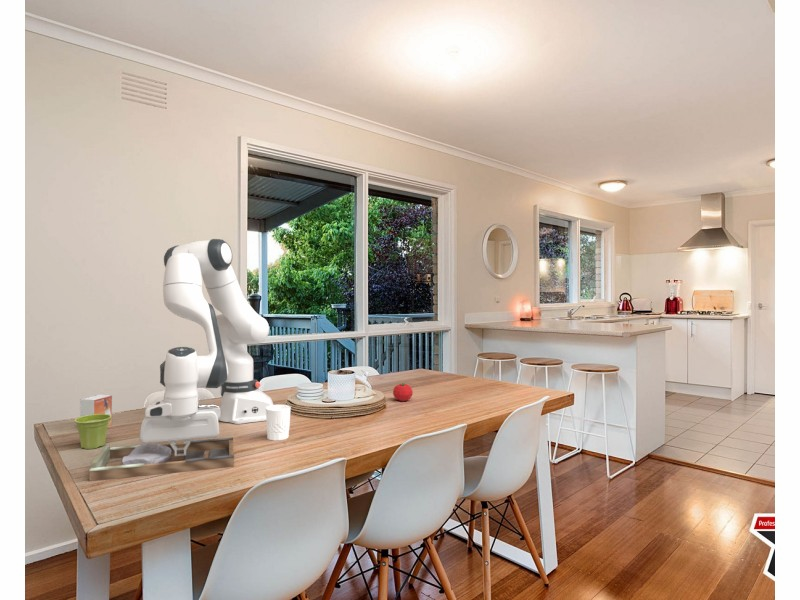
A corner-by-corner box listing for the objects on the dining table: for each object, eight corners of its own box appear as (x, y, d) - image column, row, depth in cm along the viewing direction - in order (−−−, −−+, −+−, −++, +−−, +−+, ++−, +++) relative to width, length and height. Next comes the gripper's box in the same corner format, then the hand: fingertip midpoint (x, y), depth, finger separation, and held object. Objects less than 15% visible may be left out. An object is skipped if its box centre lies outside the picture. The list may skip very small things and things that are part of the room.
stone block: (172, 462, 139) (137, 455, 138) (176, 446, 139) (140, 439, 138) (156, 479, 127) (117, 473, 126) (159, 462, 127) (120, 455, 126)
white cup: (294, 435, 160) (295, 405, 160) (281, 442, 152) (282, 411, 152) (274, 433, 162) (274, 403, 162) (260, 439, 155) (260, 408, 155)
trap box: (232, 446, 148) (233, 433, 148) (233, 466, 131) (233, 452, 131) (106, 457, 136) (106, 443, 136) (89, 481, 120) (89, 465, 119)
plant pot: (71, 453, 139) (71, 423, 139) (78, 443, 148) (78, 415, 148) (108, 449, 143) (108, 420, 143) (113, 440, 152) (113, 412, 151)
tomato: (391, 398, 218) (392, 380, 217) (411, 398, 219) (411, 380, 218) (393, 403, 209) (394, 384, 209) (413, 402, 210) (414, 384, 210)
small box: (93, 431, 160) (93, 400, 160) (79, 430, 161) (79, 398, 161) (112, 424, 168) (112, 394, 168) (98, 423, 169) (98, 394, 169)
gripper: (220, 401, 141) (220, 448, 141) (142, 405, 134) (141, 455, 134) (220, 406, 135) (220, 455, 135) (138, 411, 128) (138, 462, 128)
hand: (180, 455), depth 134 cm, fingers closed
